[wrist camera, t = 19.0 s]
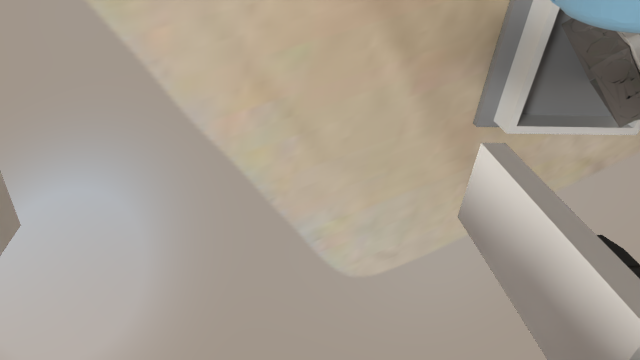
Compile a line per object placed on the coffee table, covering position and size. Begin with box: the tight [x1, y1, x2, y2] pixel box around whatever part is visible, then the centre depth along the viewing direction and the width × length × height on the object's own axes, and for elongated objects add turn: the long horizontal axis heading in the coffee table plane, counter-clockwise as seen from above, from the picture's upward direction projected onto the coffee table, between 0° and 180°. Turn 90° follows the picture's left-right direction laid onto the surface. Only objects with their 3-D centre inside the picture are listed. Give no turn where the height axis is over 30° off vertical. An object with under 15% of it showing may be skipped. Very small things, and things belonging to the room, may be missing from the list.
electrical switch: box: [561, 18, 640, 127], centre depth 39 cm, size 9×5×9 cm, turn 41°
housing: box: [473, 0, 640, 135], centre depth 41 cm, size 20×18×4 cm
